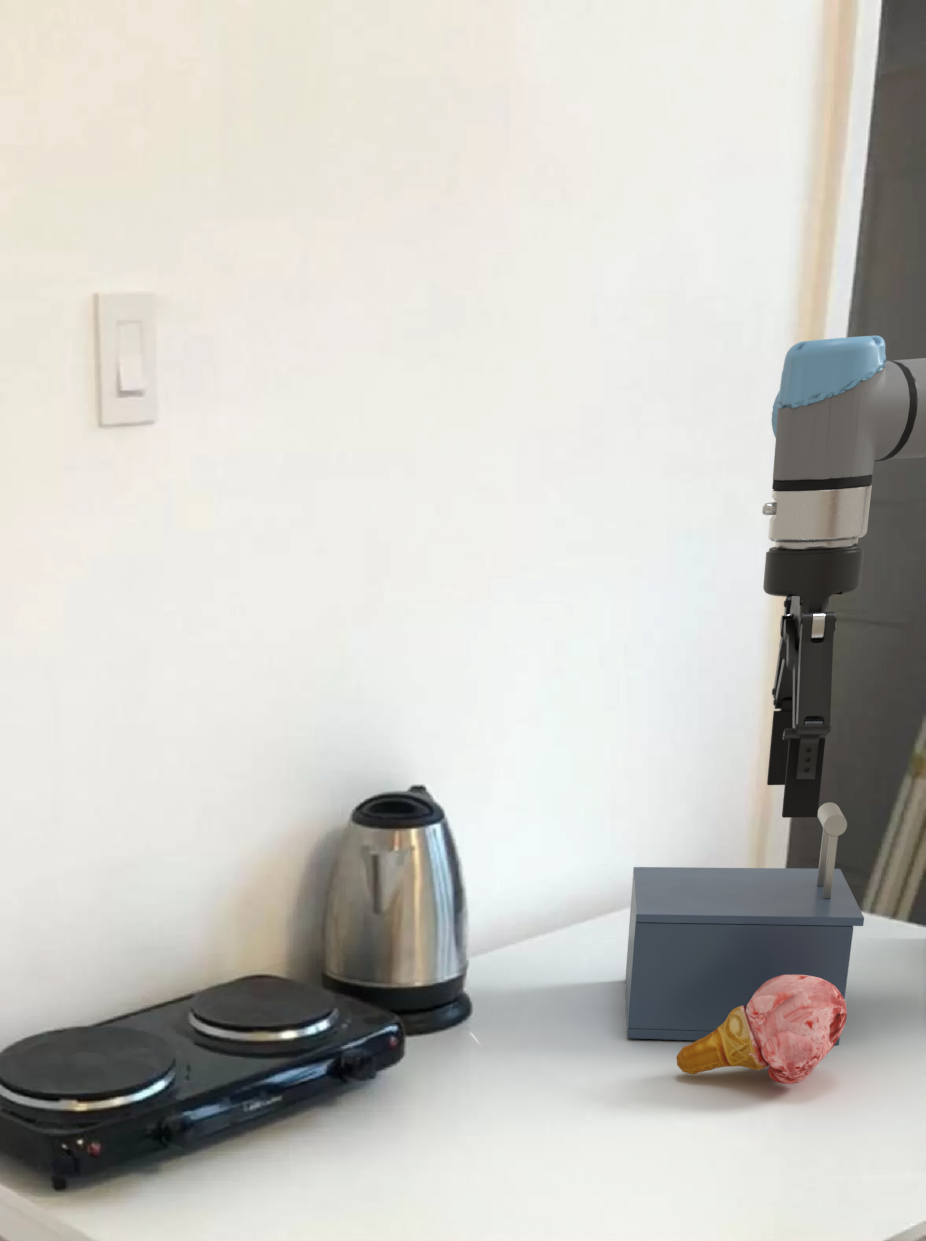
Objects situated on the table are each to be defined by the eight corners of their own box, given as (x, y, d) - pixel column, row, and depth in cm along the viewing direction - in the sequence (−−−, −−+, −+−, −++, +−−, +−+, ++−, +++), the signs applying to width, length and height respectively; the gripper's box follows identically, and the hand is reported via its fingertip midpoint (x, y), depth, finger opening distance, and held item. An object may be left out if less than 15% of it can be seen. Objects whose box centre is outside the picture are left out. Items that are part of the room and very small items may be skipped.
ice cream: (674, 1087, 156) (849, 1023, 150) (648, 1000, 162) (817, 934, 155) (710, 1142, 164) (879, 1083, 157) (685, 1057, 169) (847, 997, 163)
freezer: (817, 986, 184) (830, 876, 179) (838, 1045, 167) (853, 926, 163) (625, 981, 189) (632, 874, 185) (626, 1038, 172) (635, 922, 168)
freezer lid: (839, 876, 179) (849, 788, 176) (863, 926, 162) (875, 830, 159) (633, 874, 185) (639, 789, 181) (635, 922, 168) (642, 829, 165)
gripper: (754, 534, 159) (734, 772, 167) (781, 558, 137) (757, 832, 145) (845, 529, 157) (820, 771, 165) (887, 553, 135) (857, 831, 143)
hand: (791, 800), depth 155 cm, fingers open, 13 cm apart
